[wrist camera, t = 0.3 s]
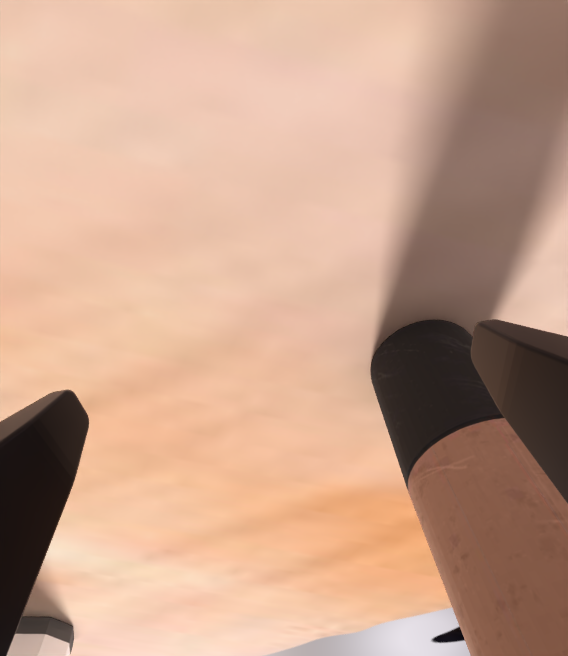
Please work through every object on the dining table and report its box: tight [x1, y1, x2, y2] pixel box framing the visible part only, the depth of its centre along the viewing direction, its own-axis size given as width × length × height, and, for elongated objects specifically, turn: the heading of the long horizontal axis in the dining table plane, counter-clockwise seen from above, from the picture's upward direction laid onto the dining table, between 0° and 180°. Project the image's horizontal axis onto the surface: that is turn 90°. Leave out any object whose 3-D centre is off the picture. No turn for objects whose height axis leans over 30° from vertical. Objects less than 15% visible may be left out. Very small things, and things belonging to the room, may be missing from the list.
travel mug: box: [371, 320, 568, 656], centre depth 19 cm, size 8×8×20 cm
